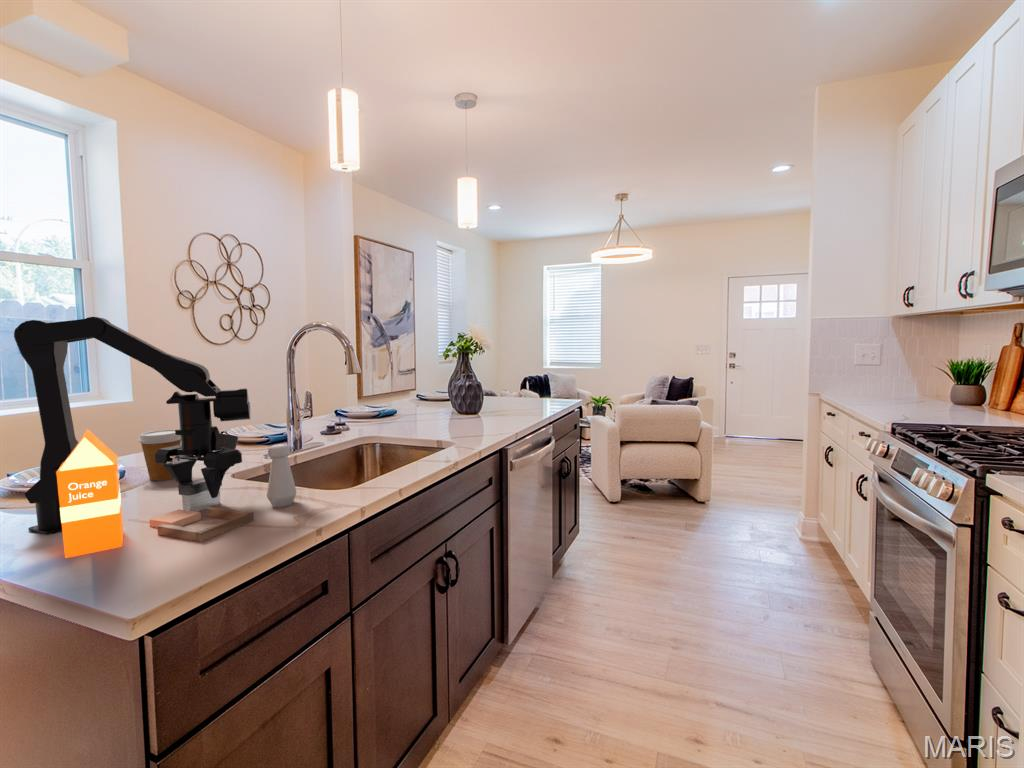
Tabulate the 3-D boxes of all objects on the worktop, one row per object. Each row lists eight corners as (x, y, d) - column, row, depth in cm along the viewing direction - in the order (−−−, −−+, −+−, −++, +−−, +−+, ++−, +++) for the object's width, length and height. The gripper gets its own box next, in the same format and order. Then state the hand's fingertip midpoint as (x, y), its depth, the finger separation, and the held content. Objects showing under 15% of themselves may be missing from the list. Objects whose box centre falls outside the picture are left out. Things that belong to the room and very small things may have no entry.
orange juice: (63, 558, 83) (51, 439, 82) (70, 541, 90) (59, 431, 89) (123, 546, 88) (113, 433, 86) (124, 531, 95) (115, 426, 93)
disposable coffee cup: (169, 482, 129) (166, 435, 127) (132, 482, 129) (128, 436, 128) (193, 472, 138) (190, 428, 137) (159, 472, 138) (155, 429, 137)
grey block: (180, 513, 105) (178, 485, 104) (213, 502, 112) (211, 475, 111) (190, 514, 104) (188, 486, 103) (223, 503, 111) (221, 476, 110)
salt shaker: (285, 509, 106) (281, 448, 105) (261, 508, 107) (257, 447, 106) (302, 500, 111) (299, 442, 110) (279, 499, 113) (275, 442, 111)
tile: (150, 528, 98) (149, 519, 97) (179, 517, 103) (179, 509, 103) (172, 532, 96) (171, 522, 95) (201, 521, 101) (200, 512, 101)
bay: (157, 534, 93) (157, 526, 93) (212, 514, 103) (212, 506, 103) (201, 541, 89) (200, 533, 89) (253, 520, 100) (253, 512, 99)
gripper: (260, 419, 110) (265, 488, 112) (199, 416, 117) (204, 482, 118) (215, 427, 100) (220, 504, 101) (150, 424, 107) (156, 496, 108)
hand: (201, 495), depth 108 cm, fingers open, 7 cm apart
